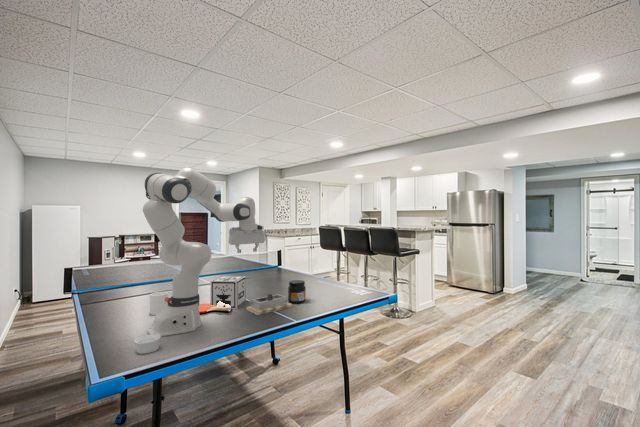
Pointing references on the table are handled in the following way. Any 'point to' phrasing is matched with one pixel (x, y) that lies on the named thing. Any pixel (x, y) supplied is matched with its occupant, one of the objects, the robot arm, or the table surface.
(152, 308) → the mug
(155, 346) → the ramekin
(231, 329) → the table surface
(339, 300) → the table surface
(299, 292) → the supplement container
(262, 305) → the silver rectangular frame
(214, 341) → the table surface
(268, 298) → the plate
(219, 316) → the table surface
